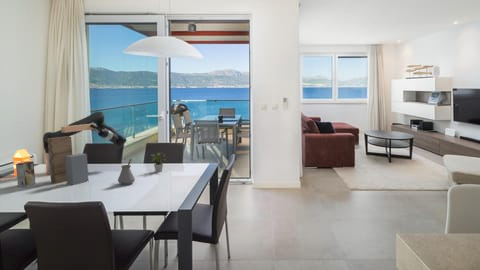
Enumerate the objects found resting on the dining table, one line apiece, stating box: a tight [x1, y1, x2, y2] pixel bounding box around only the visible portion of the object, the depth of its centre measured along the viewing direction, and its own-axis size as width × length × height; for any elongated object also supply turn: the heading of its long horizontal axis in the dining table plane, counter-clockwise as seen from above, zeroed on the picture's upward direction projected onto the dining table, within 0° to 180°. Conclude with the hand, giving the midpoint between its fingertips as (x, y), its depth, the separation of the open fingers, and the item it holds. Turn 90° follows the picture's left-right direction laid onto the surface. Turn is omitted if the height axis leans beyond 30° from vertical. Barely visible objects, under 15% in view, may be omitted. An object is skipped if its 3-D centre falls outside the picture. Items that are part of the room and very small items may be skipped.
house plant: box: [150, 152, 167, 173], centre depth 277 cm, size 14×14×16 cm
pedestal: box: [65, 152, 89, 186], centre depth 245 cm, size 7×12×20 cm, turn 149°
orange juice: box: [12, 148, 31, 177], centre depth 271 cm, size 8×9×20 cm
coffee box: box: [16, 161, 36, 188], centre depth 239 cm, size 9×6×16 cm
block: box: [60, 123, 96, 133], centre depth 257 cm, size 4×26×4 cm, turn 150°
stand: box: [48, 136, 73, 185], centre depth 249 cm, size 6×14×32 cm, turn 149°
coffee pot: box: [117, 158, 136, 186], centre depth 246 cm, size 21×12×15 cm, turn 4°
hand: (88, 125), depth 264 cm, fingers closed on block, 4 cm apart
